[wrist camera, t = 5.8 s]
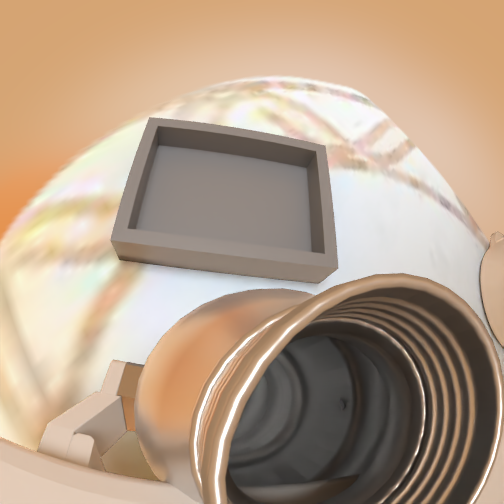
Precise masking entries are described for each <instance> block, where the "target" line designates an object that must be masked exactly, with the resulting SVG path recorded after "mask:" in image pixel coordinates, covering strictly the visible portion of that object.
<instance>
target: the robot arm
mask: <svg viewBox="0 0 504 504" xmlns="http://www.w3.org/2000/svg"><path fill="white" fill-rule="evenodd" d="M480 277H481V292H482V298H483V303H484V308H485V311H486V315H487V318H488V321H489V324H490V326H491V328H492V331H493V333H494V335H495V336H496V338H497V340H498V341H499V342H500V344H501V345H502V346H503V347H504V235H503V234H501V233H500V232H496V233H493V234H492V235H491V240H490V247H489V249H488V251H487V252H486V253H485V255H484V257H483V260H482V265H481V275H480ZM144 366H145V365H141V364H135V363H130V362H123V361H118V360H112V361H111V363H110V366H109V369H108V371H107V374H106V377H105V380H104V383H103V386H102V389H101V392H95V393H93V394H92V395H90V396H89V397H87V398H86V399H84V400H83V401H81V402H80V403H78V404H77V405H75V406H73V407H72V408H70V409H69V410H67V411H66V412H64V413H63V414H61V415H60V416H58V417H56V418H55V419H53V420H52V421H50V422H49V423H48V424H47V427H46V429H45V432H44V434H43V437H42V439H41V442H40V444H39V447H38V450H37V452H36V451H34V450H31V449H28V448H26V447H23V446H21V445H18V444H16V443H13V442H11V441H9V440H6V439H4V438H2V437H0V504H200V503H198V502H196V501H194V500H192V499H191V498H189V497H188V496H187V495H185V494H184V493H182V492H181V491H180V490H178V489H177V488H176V487H174V486H173V485H171V484H169V483H167V482H162V481H154V480H147V479H141V478H135V477H129V476H123V475H118V474H113V473H109V472H106V470H105V468H104V465H103V463H102V460H101V456H102V455H103V454H104V453H105V452H106V451H107V450H109V449H110V448H111V447H112V446H113V445H114V444H115V443H116V442H117V441H118V440H119V439H120V438H121V437H122V436H123V435H124V434H125V433H126V432H127V430H129V431H136V430H135V415H134V402H135V396H136V391H137V385H138V380H139V378H140V375H141V373H142V370H143V368H144ZM339 402H340V405H341V408H342V411H343V409H344V408H345V407H346V405H345V403H344V401H343V400H342V398H340V401H339ZM359 475H360V474H355V475H350V476H344V477H339V478H332V479H326V480H319V481H311V482H302V483H292V484H280V485H263V486H238V487H239V488H240V489H241V490H242V491H243V492H244V493H245V494H246V495H248V496H249V497H251V498H252V499H254V500H257V501H260V502H262V503H265V504H316V503H320V502H323V501H325V500H327V499H330V498H332V497H334V496H336V495H338V494H340V493H341V492H343V491H344V490H346V489H347V488H348V487H350V486H351V485H352V484H353V483H354V482H355V481H356V480H357V479H358V477H359ZM475 504H504V424H503V433H502V438H501V442H500V446H499V450H498V454H497V458H496V461H495V464H494V466H493V469H492V471H491V474H490V476H489V479H488V481H487V483H486V486H485V488H484V489H483V491H482V493H481V495H480V497H479V498H478V500H477V502H476V503H475Z"/></svg>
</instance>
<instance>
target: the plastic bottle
mask: <svg viewBox="0 0 504 504" xmlns="http://www.w3.org/2000/svg"><path fill="white" fill-rule="evenodd" d="M340 398H342V400H343V401H344V403H345V405H346V407H345V408H344V409H343V411H342V408H341V405H340V402H339V401H340ZM134 415H135V430H136V434H137V437H138V441H139V444H140V447H141V451H142V453H143V455H144V457H145V459H146V461H147V462H148V464H149V466H150V468H151V469H152V471H153V473H154V474H155V475H156V477H157V478H158V479H159V480H160V481H162V482H167V483H169V484H171V485H173V486H174V487H176V488H177V489H178V490H180V491H181V492H182V493H184V494H185V495H187V496H188V497H189V498H191V499H192V500H194V501H196V502H198V503H200V504H265V503H262V502H260V501H257V500H254V499H252V498H251V497H249V496H248V495H246V494H245V493H244V492H243V491H242V490H241V489H240V488H239V487H238V486H263V485H280V484H292V483H302V482H311V481H319V480H326V479H332V478H339V477H344V476H350V475H355V474H360V475H359V477H358V479H357V480H356V481H355V482H354V483H353V484H352V485H351V486H350V487H348V488H347V489H346V490H344V491H343V492H341V493H340V494H338V495H336V496H334V497H332V498H330V499H327V500H325V501H323V502H320V503H316V504H475V503H476V502H477V500H478V498H479V497H480V495H481V493H482V491H483V489H484V488H485V486H486V483H487V481H488V479H489V476H490V474H491V471H492V469H493V466H494V464H495V461H496V458H497V454H498V450H499V446H500V442H501V438H502V433H503V424H504V381H503V376H502V370H501V365H500V360H499V358H498V355H497V352H496V349H495V346H494V344H493V341H492V338H491V337H490V335H489V333H488V331H487V329H486V328H485V326H484V324H483V322H482V321H481V319H480V318H479V317H478V315H477V314H476V313H475V312H474V311H473V309H472V308H471V307H470V306H469V305H468V304H467V303H466V302H465V301H464V300H463V299H462V298H460V297H459V296H458V295H457V294H455V293H454V292H453V291H451V290H450V289H449V288H447V287H445V286H443V285H441V284H439V283H436V282H434V281H432V280H430V279H428V278H424V277H419V276H414V275H409V274H404V273H399V274H376V275H372V276H368V277H365V278H361V279H358V280H354V281H351V282H347V283H344V284H340V285H336V286H334V287H332V288H330V289H328V290H326V291H324V292H322V293H320V294H318V295H316V296H315V295H312V294H310V293H307V292H302V291H296V290H289V289H283V288H282V289H255V290H247V291H243V292H238V293H233V294H228V295H224V296H222V297H220V298H217V299H215V300H212V301H210V302H207V303H205V304H203V305H201V306H199V307H198V308H196V309H195V310H193V311H192V312H190V313H189V314H187V315H185V316H184V317H182V318H181V319H180V320H179V321H178V322H177V323H176V324H175V325H174V326H173V327H172V328H170V329H169V330H168V331H167V332H166V333H165V334H164V335H163V336H162V338H161V339H160V341H159V342H158V343H157V345H156V346H155V348H154V349H153V351H152V352H151V354H150V355H149V356H148V358H147V361H146V363H145V366H144V368H143V370H142V373H141V375H140V378H139V380H138V385H137V391H136V396H135V402H134Z"/></svg>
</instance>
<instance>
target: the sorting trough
mask: <svg viewBox="0 0 504 504" xmlns="http://www.w3.org/2000/svg"><path fill="white" fill-rule="evenodd" d="M111 242H112V245H113V247H114V249H115V251H116V253H117V255H118V257H119V260H125V261H132V262H140V263H147V264H155V265H163V266H170V267H178V268H186V269H194V270H203V271H211V272H219V273H228V274H237V275H245V276H254V277H263V278H272V279H282V280H291V281H301V282H311V283H320V282H322V281H323V280H324V279H325V278H327V277H328V276H329V275H330V274H332V273H333V272H334V271H335V270H337V269H338V259H337V246H336V234H335V223H334V212H333V203H332V194H331V185H330V177H329V169H328V161H327V154H326V147H325V146H324V145H320V144H315V143H311V142H307V141H302V140H298V139H293V138H289V137H284V136H279V135H274V134H269V133H263V132H258V131H252V130H246V129H240V128H234V127H228V126H221V125H214V124H207V123H199V122H191V121H182V120H173V119H162V118H149V120H148V123H147V125H146V128H145V130H144V133H143V136H142V139H141V141H140V144H139V147H138V150H137V152H136V155H135V158H134V161H133V164H132V167H131V170H130V173H129V176H128V180H127V183H126V186H125V189H124V192H123V196H122V199H121V203H120V206H119V210H118V213H117V217H116V221H115V224H114V228H113V232H112V236H111Z"/></svg>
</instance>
